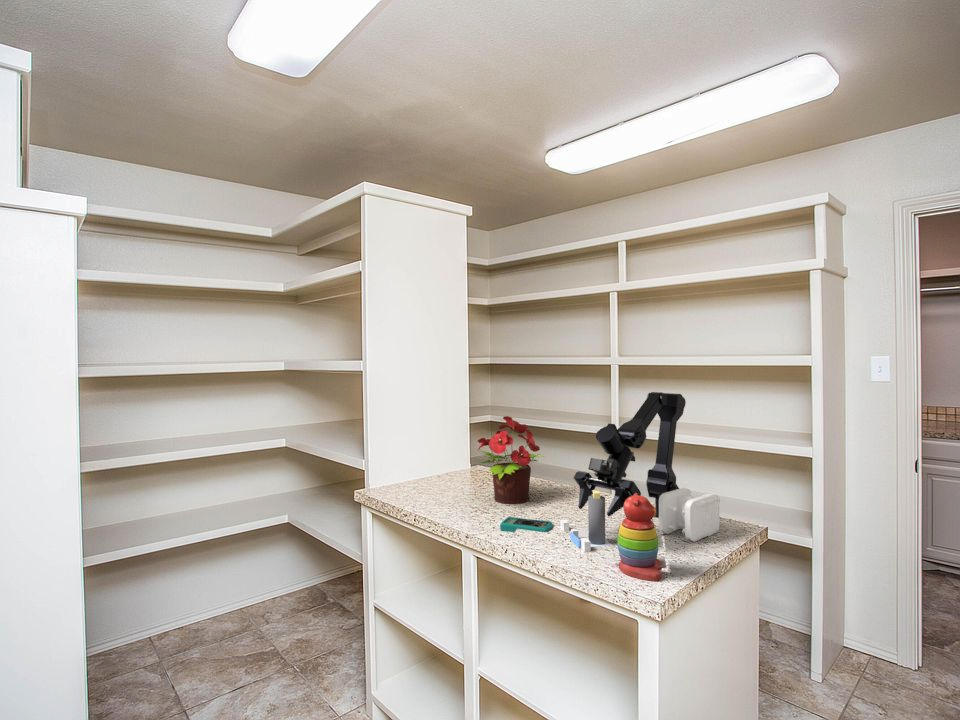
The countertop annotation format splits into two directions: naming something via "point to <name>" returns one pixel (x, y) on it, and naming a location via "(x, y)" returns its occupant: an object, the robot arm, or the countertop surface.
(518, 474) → the potted plant
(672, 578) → the countertop surface
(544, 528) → the digital multimeter
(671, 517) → the cable organizer
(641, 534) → the stacking bear
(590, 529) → the grey cylinder
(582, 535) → the board
